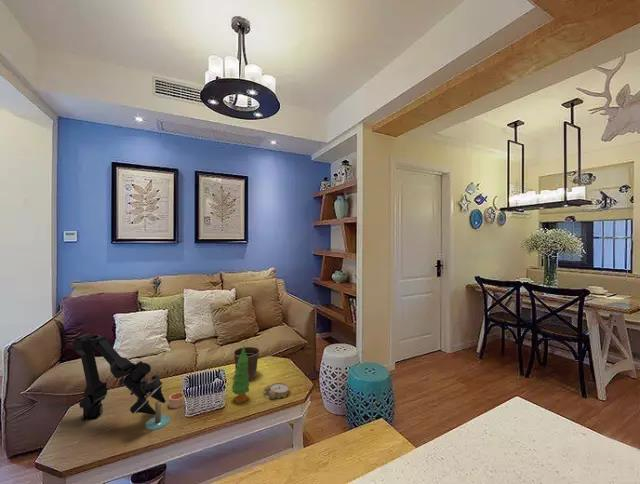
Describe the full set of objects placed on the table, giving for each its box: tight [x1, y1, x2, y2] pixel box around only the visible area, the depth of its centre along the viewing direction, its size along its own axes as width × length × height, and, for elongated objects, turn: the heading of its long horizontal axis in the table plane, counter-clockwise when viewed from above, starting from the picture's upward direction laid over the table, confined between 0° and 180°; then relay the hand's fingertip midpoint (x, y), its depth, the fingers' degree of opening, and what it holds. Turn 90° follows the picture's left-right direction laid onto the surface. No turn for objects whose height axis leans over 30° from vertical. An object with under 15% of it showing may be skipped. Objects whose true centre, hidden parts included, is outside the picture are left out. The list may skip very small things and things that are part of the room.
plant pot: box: [232, 346, 261, 381], centre depth 180 cm, size 16×16×16 cm
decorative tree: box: [231, 346, 250, 404], centre depth 155 cm, size 10×9×30 cm
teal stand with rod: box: [145, 401, 171, 431], centre depth 134 cm, size 10×10×10 cm
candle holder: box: [262, 382, 292, 400], centre depth 161 cm, size 11×5×15 cm
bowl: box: [168, 391, 185, 410], centre depth 149 cm, size 7×7×4 cm
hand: (160, 408), depth 134 cm, fingers open, 9 cm apart
